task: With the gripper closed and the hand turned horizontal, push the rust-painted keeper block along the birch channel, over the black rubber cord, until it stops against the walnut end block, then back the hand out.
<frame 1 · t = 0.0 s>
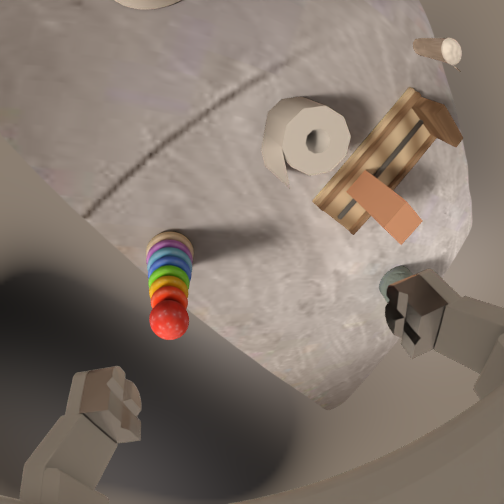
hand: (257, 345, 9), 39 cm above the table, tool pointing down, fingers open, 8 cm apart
channel: (381, 160, 50), on the table
milkshake: (418, 48, 39), on the table
toilet tissue: (289, 133, 45), on the table
stacking toy: (169, 249, 52), on the table
keeper: (382, 204, 46), point 8 cm above the table, slide at 0.0 cm
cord: (382, 168, 49), in the channel, point 1 cm above the table
green cup: (392, 279, 69), on the table
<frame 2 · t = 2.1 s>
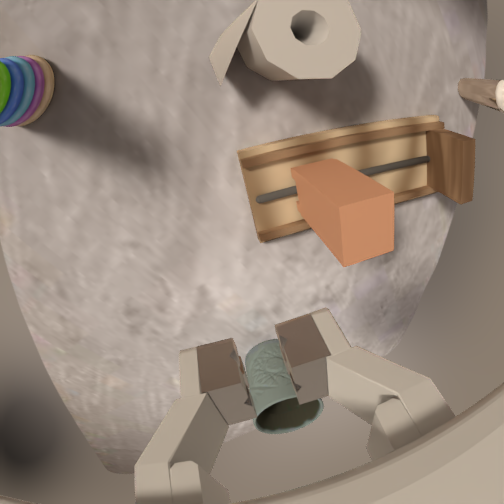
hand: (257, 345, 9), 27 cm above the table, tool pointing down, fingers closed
channel: (355, 169, 36), on the table
milkshake: (462, 90, 33), on the table
toilet tissue: (267, 43, 27), on the table
stacking toy: (27, 89, 24), on the table
keeper: (337, 203, 29), point 8 cm above the table, slide at 0.0 cm
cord: (354, 175, 34), in the channel, point 1 cm above the table
green cup: (269, 355, 49), on the table
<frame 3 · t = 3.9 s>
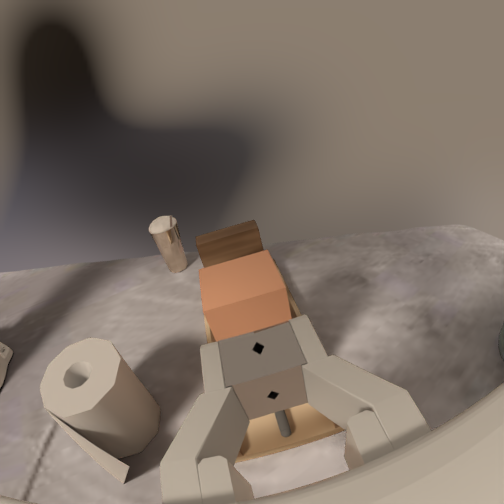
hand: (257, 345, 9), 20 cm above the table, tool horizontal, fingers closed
channel: (258, 342, 34), on the table
milkshake: (180, 268, 51), on the table
toilet tissue: (123, 432, 27), on the table
keeper: (255, 335, 25), point 8 cm above the table, slide at 0.0 cm
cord: (257, 339, 33), in the channel, point 1 cm above the table
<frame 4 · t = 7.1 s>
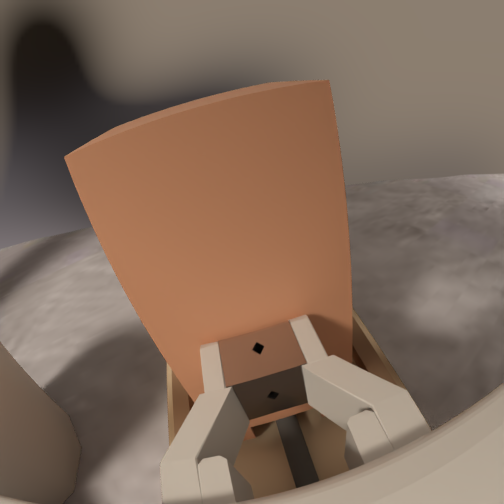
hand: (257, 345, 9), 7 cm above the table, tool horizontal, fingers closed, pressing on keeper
channel: (256, 327, 19), on the table
toilet tissue: (28, 479, 11), on the table
keeper: (244, 286, 11), point 8 cm above the table, slide at 0.4 cm, touching gripper
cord: (254, 319, 18), in the channel, point 1 cm above the table
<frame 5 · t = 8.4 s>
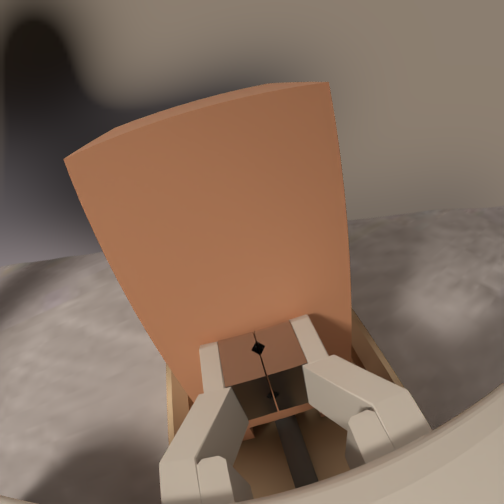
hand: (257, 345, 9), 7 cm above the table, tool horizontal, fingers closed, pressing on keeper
channel: (298, 458, 12), on the table
keeper: (243, 286, 11), point 8 cm above the table, slide at 9.5 cm, touching gripper
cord: (300, 466, 10), in the channel, point 1 cm above the table
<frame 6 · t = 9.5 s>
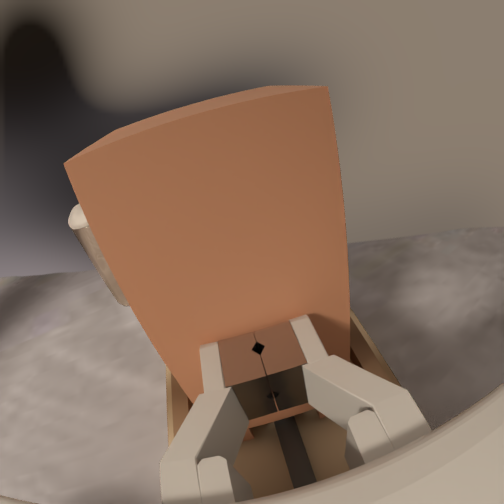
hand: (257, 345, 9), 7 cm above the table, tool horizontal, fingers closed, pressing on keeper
milkshake: (138, 297, 25), on the table
keeper: (243, 288, 11), point 8 cm above the table, slide at 13.4 cm, touching gripper
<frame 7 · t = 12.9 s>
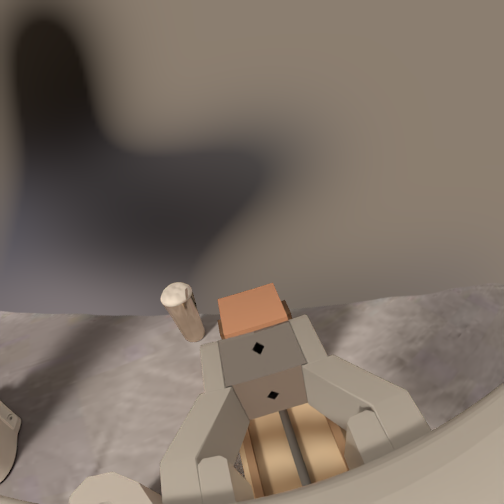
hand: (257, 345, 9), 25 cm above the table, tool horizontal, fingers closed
channel: (292, 440, 28), on the table
milkshake: (197, 336, 46), on the table
keeper: (263, 350, 31), point 8 cm above the table, slide at 13.4 cm
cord: (293, 442, 27), in the channel, point 1 cm above the table
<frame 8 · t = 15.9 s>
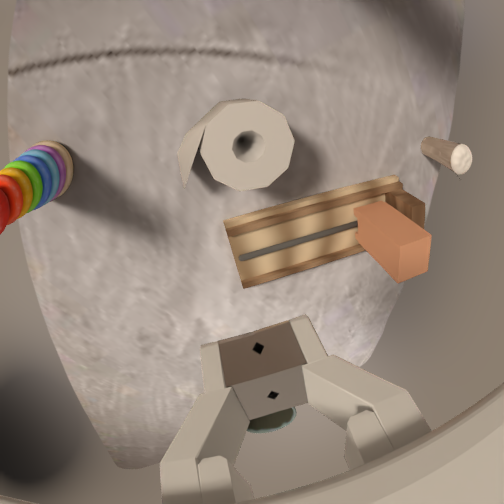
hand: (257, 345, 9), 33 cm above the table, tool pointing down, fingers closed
channel: (320, 228, 46), on the table
milkshake: (425, 147, 43), on the table
toilet tissue: (225, 138, 37), on the table
stacking toy: (49, 168, 34), on the table
keeper: (389, 237, 40), point 8 cm above the table, slide at 13.4 cm
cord: (318, 235, 45), in the channel, point 1 cm above the table
green cup: (254, 369, 59), on the table
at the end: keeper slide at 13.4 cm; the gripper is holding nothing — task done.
